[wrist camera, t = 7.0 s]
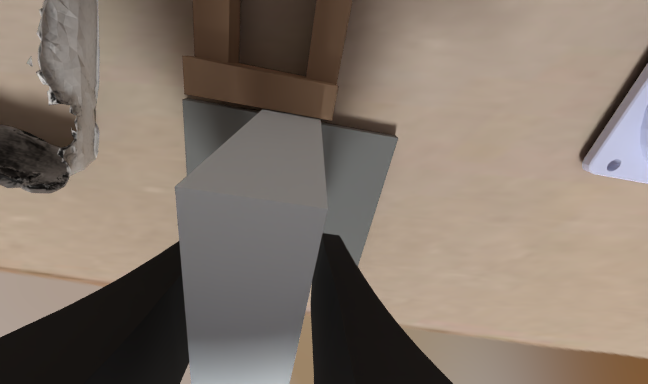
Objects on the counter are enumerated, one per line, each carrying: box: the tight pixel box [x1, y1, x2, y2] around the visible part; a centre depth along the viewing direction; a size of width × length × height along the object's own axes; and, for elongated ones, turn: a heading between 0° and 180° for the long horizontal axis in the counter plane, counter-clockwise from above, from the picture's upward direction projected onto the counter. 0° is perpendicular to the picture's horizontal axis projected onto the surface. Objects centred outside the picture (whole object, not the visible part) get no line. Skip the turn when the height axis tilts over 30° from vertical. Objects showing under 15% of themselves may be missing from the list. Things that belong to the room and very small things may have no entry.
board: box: [175, 108, 328, 384], centre depth 8 cm, size 2×9×7 cm, turn 170°
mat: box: [182, 98, 398, 267], centre depth 11 cm, size 8×8×1 cm
